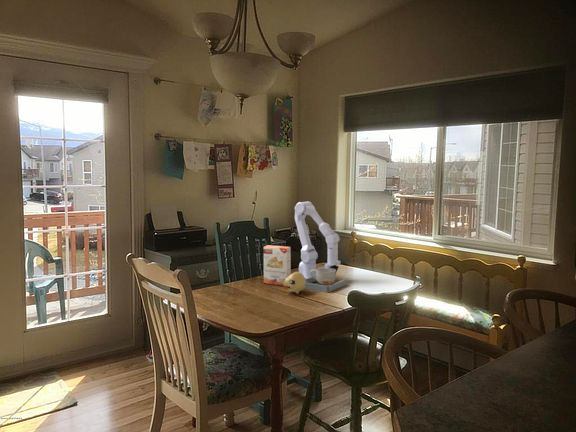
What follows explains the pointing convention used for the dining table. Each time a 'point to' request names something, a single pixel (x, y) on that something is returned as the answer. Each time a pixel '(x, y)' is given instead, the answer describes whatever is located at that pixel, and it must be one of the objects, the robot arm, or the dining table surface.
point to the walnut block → (327, 282)
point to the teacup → (323, 274)
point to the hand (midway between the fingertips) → (332, 278)
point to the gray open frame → (322, 287)
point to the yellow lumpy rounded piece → (295, 282)
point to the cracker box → (276, 264)
